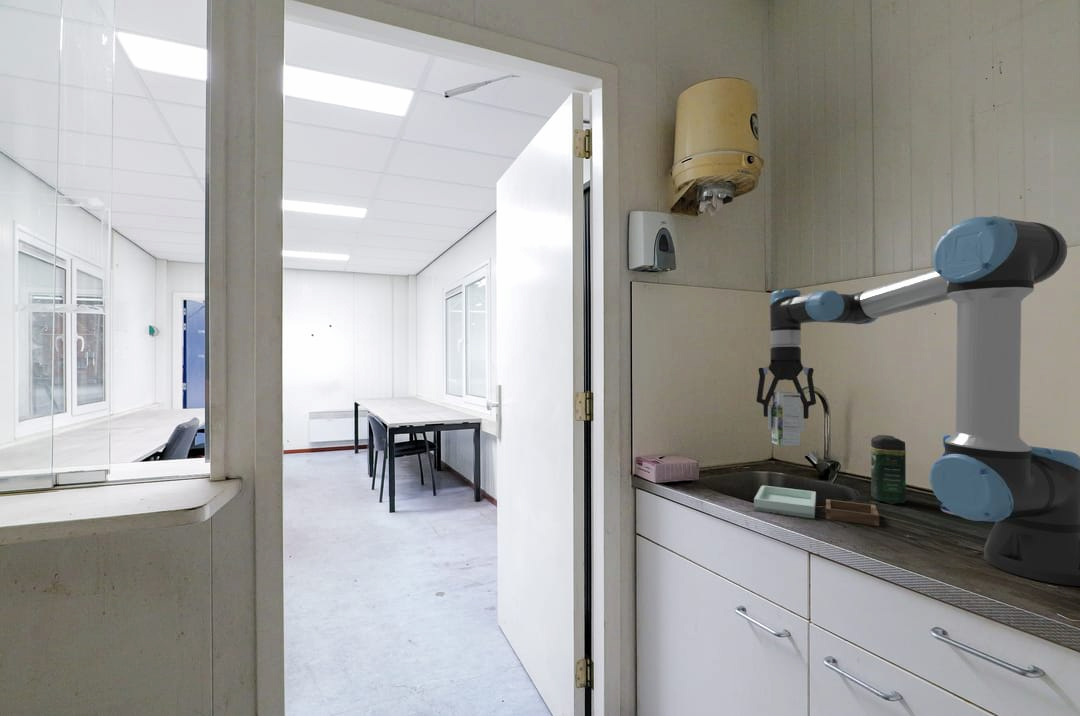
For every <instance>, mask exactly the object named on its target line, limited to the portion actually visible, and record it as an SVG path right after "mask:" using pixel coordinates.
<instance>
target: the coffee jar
mask: <svg viewBox="0 0 1080 716" xmlns="http://www.w3.org/2000/svg"><path fill="white" fill-rule="evenodd" d="M870 443H871V444H870V445H871V446H870V452H871V453H870V454H871V457H870V458H871V461H870V462H871V465H870V466H871V468H870V469H871V471H870V472H871V473H870V474H871V475H870V476H871V478H870V479H871V482H870V483H871V484H870V488H871V489H870V490H871V491H870V493H871V497H872V498H873V499H874V500H876V501H880V502H885V503H887V504H904V503H906V501H907V500H906V499H907V498H906V497H907V494H906V493H907V492H906V491H907V490H906V489H907V486H906V485H907V483H906V477H907V475H906V473H907V471H906V468H907V467H906V465H907V464H906V463H907V462H906V461H907V460H906V453H907V451H906V442H905V441H903V440H902V439H899V438H896V437H895V436H893V435H887V434H884V435H883V434H878V435H876V436H874V437H872V438H871V440H870Z"/></svg>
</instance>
